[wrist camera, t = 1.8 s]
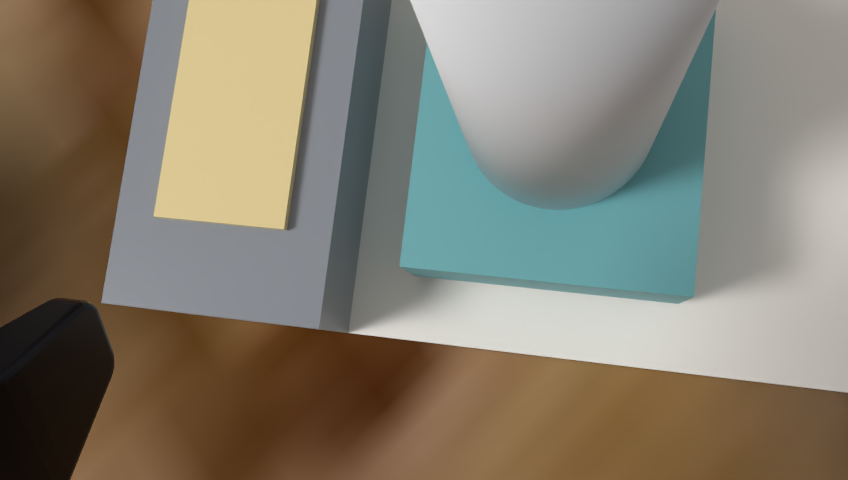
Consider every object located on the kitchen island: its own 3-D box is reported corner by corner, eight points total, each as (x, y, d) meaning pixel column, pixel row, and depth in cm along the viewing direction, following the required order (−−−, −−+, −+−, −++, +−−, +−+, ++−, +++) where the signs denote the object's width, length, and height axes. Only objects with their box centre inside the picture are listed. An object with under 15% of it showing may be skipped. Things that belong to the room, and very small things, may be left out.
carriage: (701, 6, 19) (1026, -759, 6) (678, 304, 18) (1000, 162, 5) (449, -5, 20) (257, -679, 7) (415, 276, 19) (123, 99, 6)
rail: (1514, 13, 18) (1802, -90, 14) (1540, 475, 17) (1865, 513, 12) (237, -38, 23) (169, -124, 19) (182, 313, 22) (95, 302, 18)
